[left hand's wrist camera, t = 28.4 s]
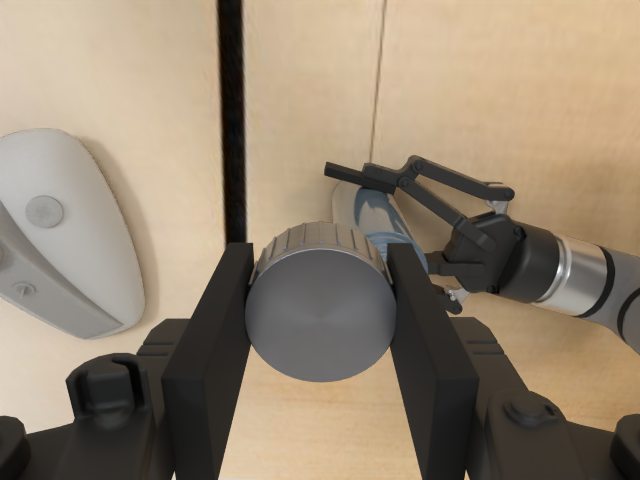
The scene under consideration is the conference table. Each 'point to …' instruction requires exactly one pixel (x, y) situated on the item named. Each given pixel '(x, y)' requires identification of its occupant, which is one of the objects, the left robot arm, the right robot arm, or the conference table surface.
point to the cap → (320, 303)
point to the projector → (64, 238)
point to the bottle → (373, 217)
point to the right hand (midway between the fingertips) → (315, 204)
